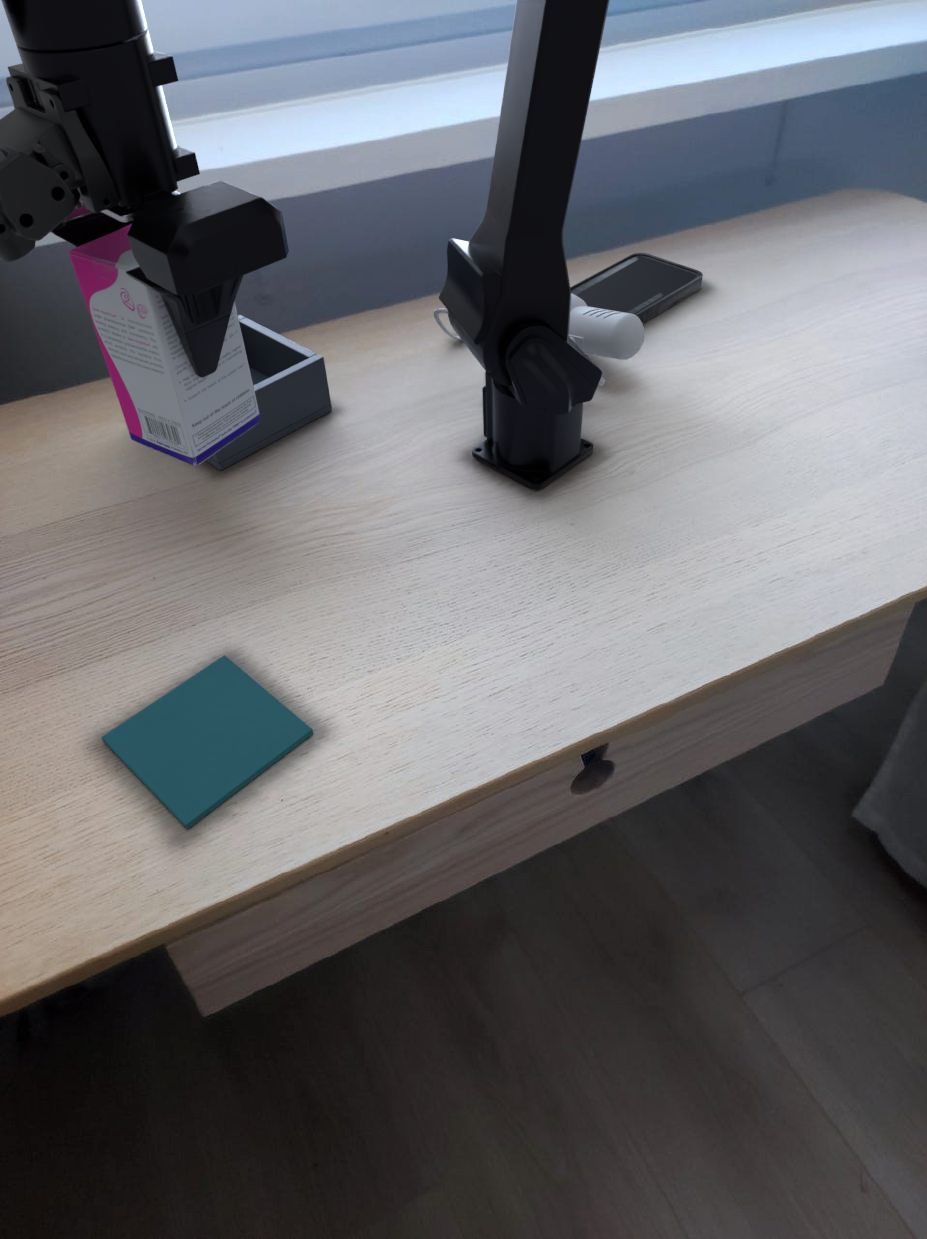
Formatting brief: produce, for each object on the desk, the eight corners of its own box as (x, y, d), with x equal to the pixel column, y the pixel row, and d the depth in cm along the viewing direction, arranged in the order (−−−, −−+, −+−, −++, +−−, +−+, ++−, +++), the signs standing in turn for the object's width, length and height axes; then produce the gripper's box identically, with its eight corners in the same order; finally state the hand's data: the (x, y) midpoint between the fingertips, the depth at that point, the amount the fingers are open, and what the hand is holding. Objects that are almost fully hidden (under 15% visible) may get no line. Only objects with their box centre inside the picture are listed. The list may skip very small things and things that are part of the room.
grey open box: (332, 410, 71) (324, 356, 68) (220, 471, 66) (205, 416, 62) (251, 365, 76) (239, 314, 73) (142, 418, 71) (124, 365, 68)
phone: (534, 306, 79) (638, 250, 86) (534, 318, 80) (637, 261, 87) (605, 334, 75) (709, 273, 82) (604, 347, 76) (707, 285, 83)
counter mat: (313, 733, 48) (312, 729, 48) (187, 829, 44) (185, 825, 44) (226, 659, 52) (224, 654, 52) (103, 741, 48) (100, 736, 48)
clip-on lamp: (415, 386, 78) (562, 428, 66) (393, 316, 75) (545, 346, 62) (511, 327, 83) (666, 355, 70) (495, 258, 79) (656, 275, 67)
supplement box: (265, 420, 55) (223, 231, 47) (195, 469, 52) (137, 275, 44) (198, 394, 58) (147, 211, 50) (127, 440, 55) (60, 251, 46)
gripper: (-176, 42, 41) (-31, 353, 52) (2, 123, 32) (134, 484, 43) (49, -4, 47) (138, 287, 58) (261, 54, 37) (319, 391, 48)
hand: (175, 354), depth 51 cm, fingers closed on supplement box, 6 cm apart
